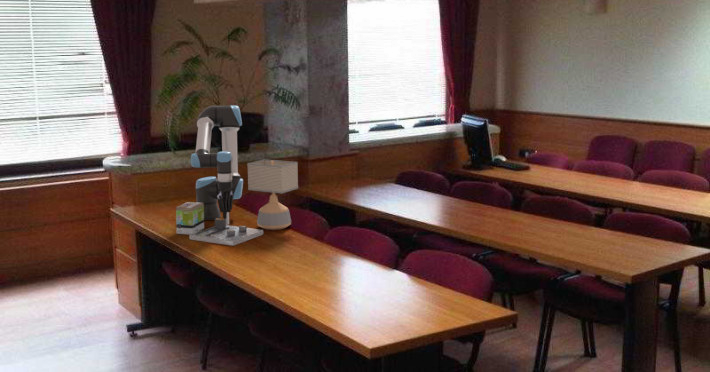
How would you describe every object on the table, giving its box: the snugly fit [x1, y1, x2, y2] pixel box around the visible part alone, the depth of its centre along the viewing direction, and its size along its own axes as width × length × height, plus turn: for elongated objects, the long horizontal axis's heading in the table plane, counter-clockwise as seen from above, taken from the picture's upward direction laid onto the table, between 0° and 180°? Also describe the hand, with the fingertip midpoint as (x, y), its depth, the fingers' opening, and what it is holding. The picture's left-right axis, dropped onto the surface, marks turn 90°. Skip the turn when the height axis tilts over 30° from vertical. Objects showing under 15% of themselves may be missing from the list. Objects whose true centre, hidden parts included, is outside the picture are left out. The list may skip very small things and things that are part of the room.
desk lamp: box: [247, 158, 299, 231], centre depth 429 cm, size 22×19×37 cm
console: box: [188, 224, 264, 247], centre depth 412 cm, size 26×29×5 cm
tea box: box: [175, 201, 205, 235], centre depth 424 cm, size 15×10×15 cm
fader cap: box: [214, 217, 227, 229], centre depth 420 cm, size 3×5×5 cm, turn 61°
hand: (226, 223), depth 424 cm, fingers closed
